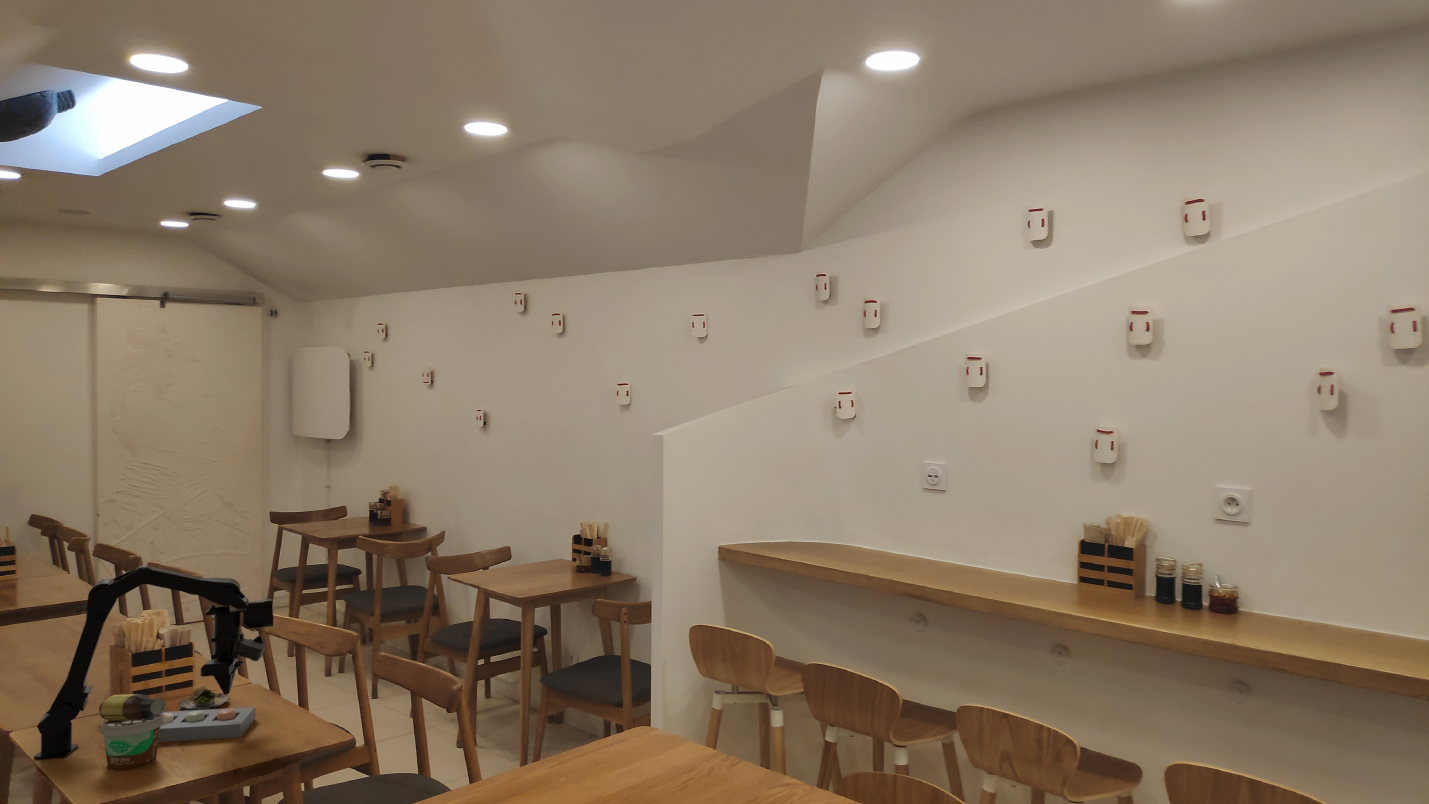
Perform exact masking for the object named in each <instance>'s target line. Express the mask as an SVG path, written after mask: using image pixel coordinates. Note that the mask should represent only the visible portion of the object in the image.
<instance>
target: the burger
mask: <svg viewBox="0 0 1429 804" xmlns="http://www.w3.org/2000/svg"><path fill="white" fill-rule="evenodd" d="M193 681H194V683H196V682H195V680H193ZM207 686H208V684H206V683H200V684H197V685H195V686H194V687H193V688H192V690H191V693H190V697H187V698H185V699H183V700H181V701H179V708H178V711H191V710H210V709H216V708H217V707H220V706H222V705H223V704H225V703H226V702H228V701H229V699H231V697H230V696H229V694H224V693H222V692H220V693H215V692H214V691H212V690H211V689H208V688H207Z"/></svg>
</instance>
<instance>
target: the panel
mask: <svg viewBox="0 0 1429 804" xmlns="http://www.w3.org/2000/svg"><path fill="white" fill-rule="evenodd" d="M225 709H226V708H210V709H207V710H191V711H179V710H178V711H177V710H176V711H164V712H163V713H162V714H167V713H170V714H173V722H172V723H164V724H163V725H162V726H160V732H159V739H158V743H168V742H183V741H184V742H185V741H186V742H188V741H200V740H201V741H202V740H216V739H217V740H218V739H219V740H220V739H233V738H234V739H235V738H241V737H242V736H243V735H244V734H245V732H246V731H247V730H248V729H249V727H250V726H251V725H252V724H253V723H254V722H255V721H256V706H251V707H249V706H247V707H231V708H227V709H234V710H235V719H234V720H217V712H219V711H221V710H225ZM193 711H204V712H205V719H204V720H203V721H199V722H186V714H187V713H189V712H193ZM154 717H155V716H152V715H149V716H147V717H145V718H144V719H142V720H153V719H154ZM254 720H255V721H254Z"/></svg>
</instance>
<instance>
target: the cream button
mask: <svg viewBox="0 0 1429 804" xmlns="http://www.w3.org/2000/svg"><path fill="white" fill-rule="evenodd" d="M159 716H160V715H158V716H155V717H154V719H155V718H157V717H159ZM161 718H163V723H172V722H173V714H170V713H167V714H161Z"/></svg>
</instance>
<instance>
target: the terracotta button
mask: <svg viewBox="0 0 1429 804" xmlns="http://www.w3.org/2000/svg"><path fill="white" fill-rule="evenodd" d="M224 709H225V710H221V711H219V712H217V720H234V719H235V710H234V709H228V708H224Z"/></svg>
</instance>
